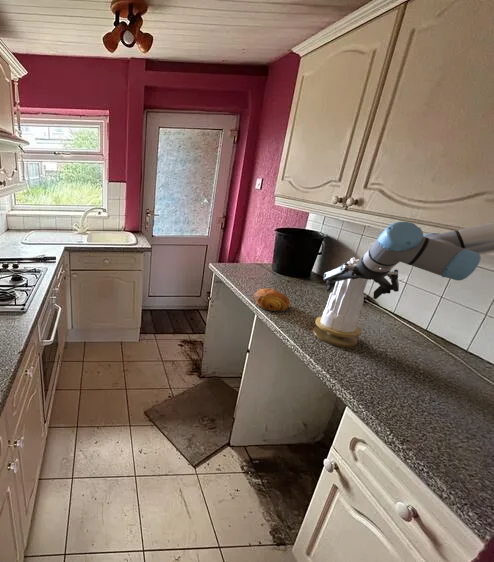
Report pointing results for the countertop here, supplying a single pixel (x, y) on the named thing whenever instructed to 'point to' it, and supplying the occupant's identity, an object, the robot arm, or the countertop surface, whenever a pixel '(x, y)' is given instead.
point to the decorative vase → (345, 303)
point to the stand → (335, 335)
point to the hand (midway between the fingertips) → (350, 291)
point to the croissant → (271, 299)
